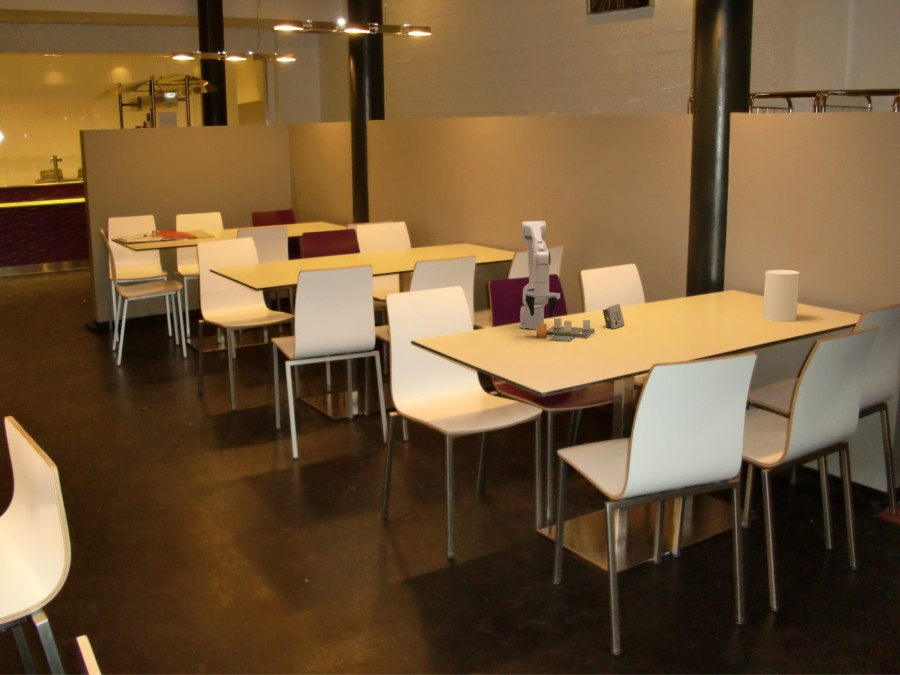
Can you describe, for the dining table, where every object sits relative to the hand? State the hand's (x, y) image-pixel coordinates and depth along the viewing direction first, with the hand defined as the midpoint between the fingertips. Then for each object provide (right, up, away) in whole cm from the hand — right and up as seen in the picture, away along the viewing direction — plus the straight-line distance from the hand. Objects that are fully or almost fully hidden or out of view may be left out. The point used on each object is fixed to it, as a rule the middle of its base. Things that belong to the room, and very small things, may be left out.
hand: (541, 315), depth 360 cm
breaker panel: (+12, -7, +6) cm, 15 cm away
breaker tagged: (+11, -6, +3) cm, 13 cm away
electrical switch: (+31, -4, +18) cm, 37 cm away
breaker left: (+8, -4, +11) cm, 14 cm away
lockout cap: (0, -8, +2) cm, 8 cm away
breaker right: (+19, -5, +6) cm, 20 cm away
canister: (+104, -1, +29) cm, 108 cm away
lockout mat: (+8, -9, -3) cm, 12 cm away
